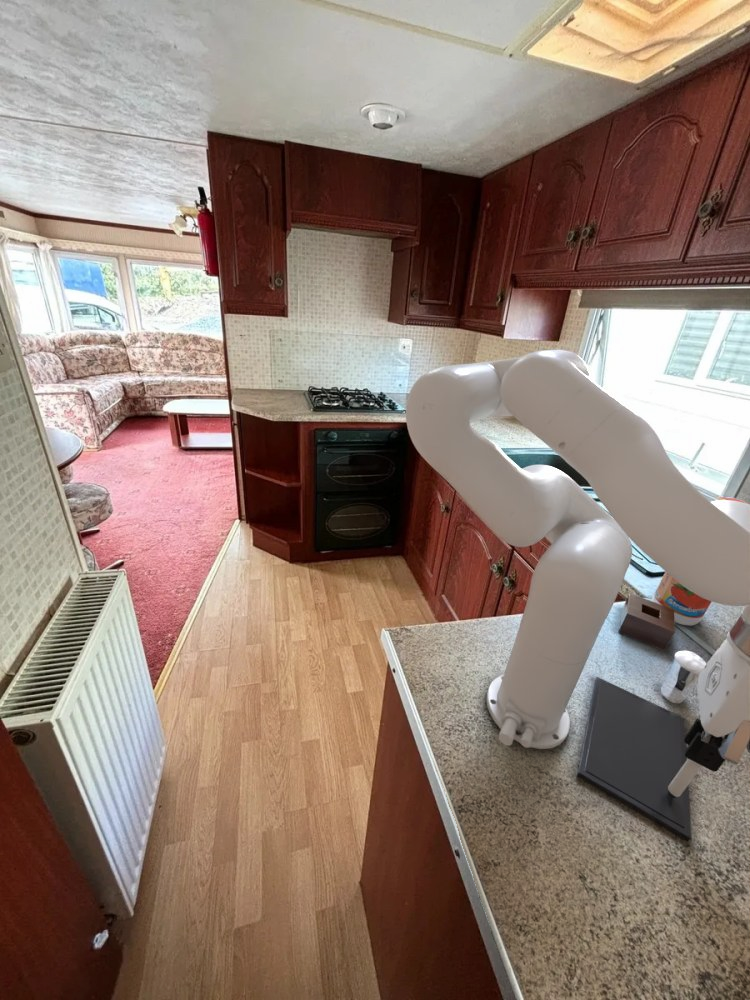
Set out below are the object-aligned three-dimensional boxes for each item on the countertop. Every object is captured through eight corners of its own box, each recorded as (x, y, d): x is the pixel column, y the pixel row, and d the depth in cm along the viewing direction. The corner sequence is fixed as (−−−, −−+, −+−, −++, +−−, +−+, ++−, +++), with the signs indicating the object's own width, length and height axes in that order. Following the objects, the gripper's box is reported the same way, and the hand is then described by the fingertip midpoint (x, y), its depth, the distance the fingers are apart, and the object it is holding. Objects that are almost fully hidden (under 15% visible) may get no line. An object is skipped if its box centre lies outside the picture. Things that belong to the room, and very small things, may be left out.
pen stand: (664, 651, 79) (675, 632, 77) (618, 632, 83) (627, 613, 81) (664, 627, 86) (674, 609, 83) (621, 610, 89) (629, 592, 87)
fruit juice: (684, 601, 95) (742, 494, 83) (708, 630, 86) (778, 515, 74) (642, 595, 95) (694, 487, 83) (662, 622, 87) (723, 507, 75)
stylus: (677, 803, 52) (729, 734, 46) (665, 795, 53) (714, 727, 47) (677, 793, 54) (728, 725, 47) (665, 786, 54) (713, 718, 48)
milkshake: (677, 714, 66) (704, 671, 62) (649, 686, 71) (673, 644, 67) (697, 709, 68) (725, 666, 63) (669, 682, 72) (693, 641, 68)
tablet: (688, 842, 50) (691, 837, 49) (576, 776, 56) (578, 771, 55) (682, 722, 65) (685, 717, 65) (595, 680, 71) (597, 675, 71)
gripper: (725, 592, 49) (663, 695, 57) (743, 675, 37) (662, 790, 45) (806, 620, 46) (728, 725, 54) (855, 722, 34) (746, 837, 42)
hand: (699, 754), depth 50 cm, fingers closed on stylus, 1 cm apart
